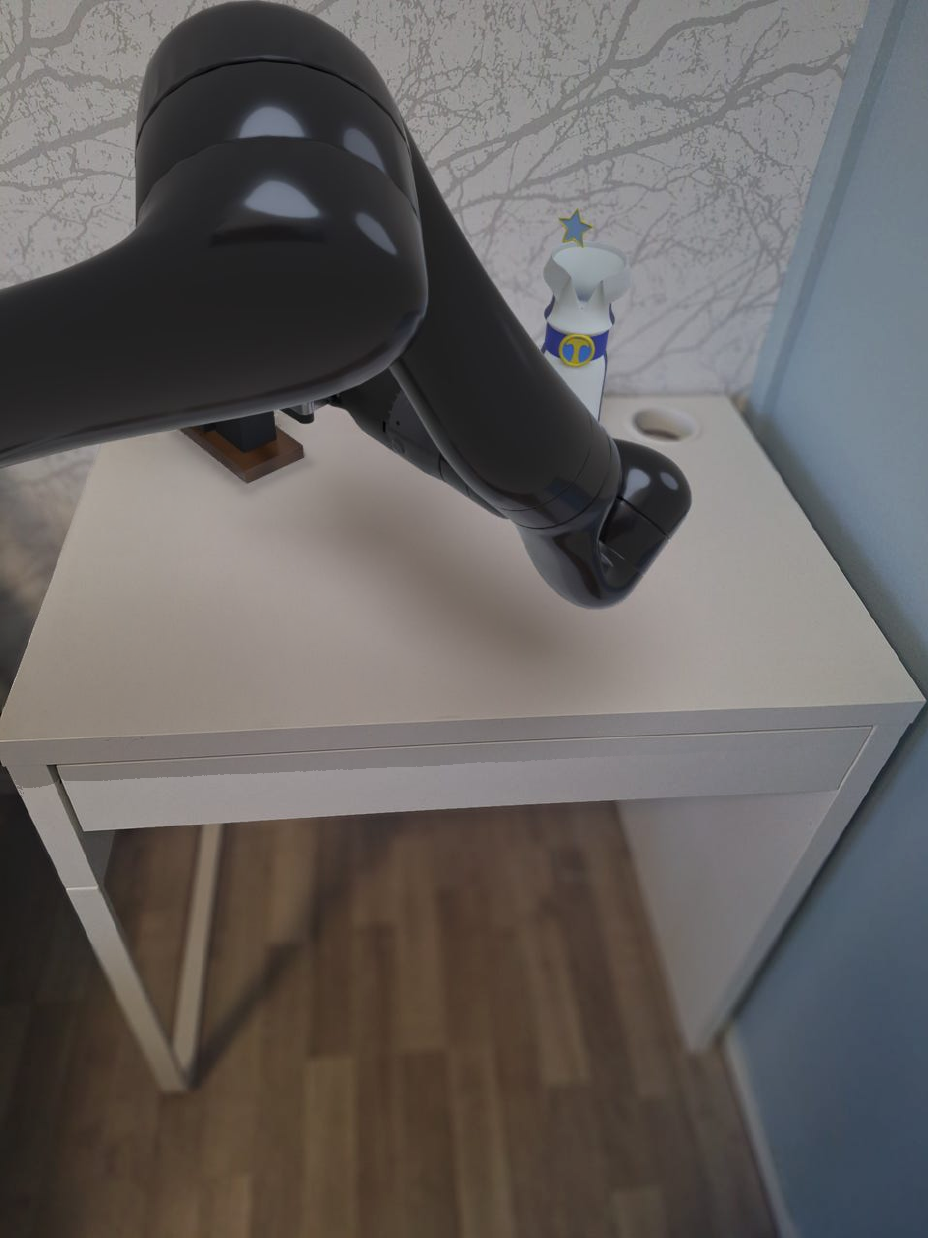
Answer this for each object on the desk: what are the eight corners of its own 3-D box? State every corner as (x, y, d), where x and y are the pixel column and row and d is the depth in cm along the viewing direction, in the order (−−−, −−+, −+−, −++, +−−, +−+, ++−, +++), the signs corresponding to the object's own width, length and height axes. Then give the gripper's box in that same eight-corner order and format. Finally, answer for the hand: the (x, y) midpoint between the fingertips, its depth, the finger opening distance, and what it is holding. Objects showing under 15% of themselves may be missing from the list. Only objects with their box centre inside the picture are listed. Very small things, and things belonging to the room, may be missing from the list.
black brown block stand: (247, 483, 91) (233, 389, 83) (176, 427, 97) (157, 335, 90) (304, 457, 94) (296, 365, 87) (232, 404, 101) (219, 314, 93)
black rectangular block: (244, 453, 92) (232, 372, 86) (216, 431, 94) (202, 351, 88) (277, 439, 94) (268, 359, 88) (248, 418, 96) (238, 339, 90)
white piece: (604, 457, 97) (649, 216, 79) (523, 449, 97) (551, 208, 80) (603, 414, 103) (645, 182, 85) (527, 407, 103) (553, 174, 86)
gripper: (505, 333, 66) (361, 255, 74) (351, 400, 59) (208, 306, 66) (497, 423, 71) (363, 341, 79) (354, 494, 64) (222, 397, 72)
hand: (292, 325), depth 73 cm, fingers open, 8 cm apart
